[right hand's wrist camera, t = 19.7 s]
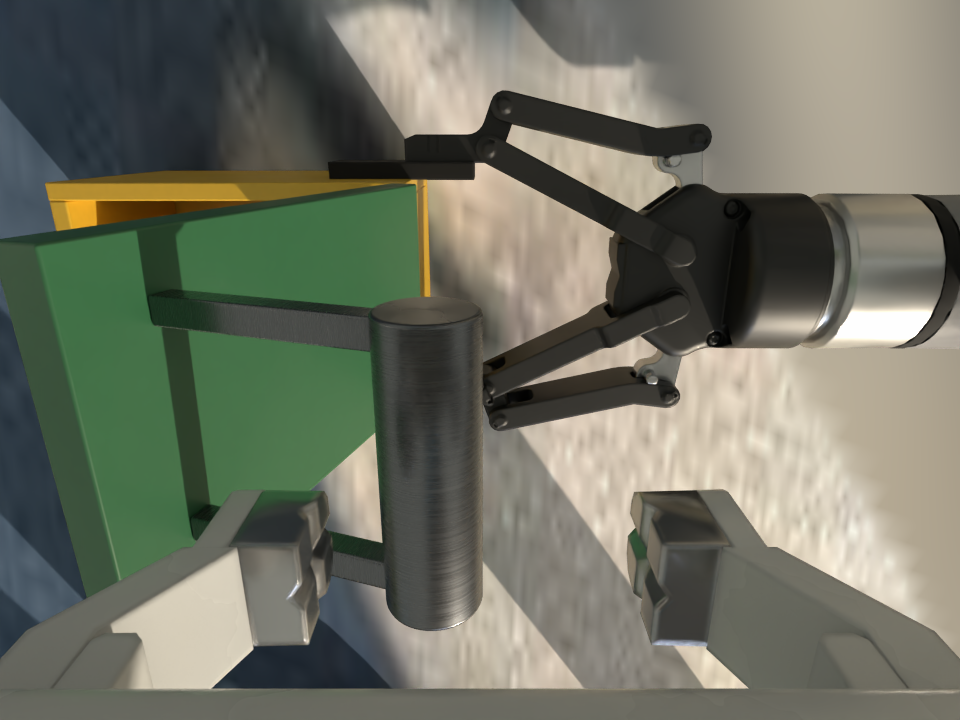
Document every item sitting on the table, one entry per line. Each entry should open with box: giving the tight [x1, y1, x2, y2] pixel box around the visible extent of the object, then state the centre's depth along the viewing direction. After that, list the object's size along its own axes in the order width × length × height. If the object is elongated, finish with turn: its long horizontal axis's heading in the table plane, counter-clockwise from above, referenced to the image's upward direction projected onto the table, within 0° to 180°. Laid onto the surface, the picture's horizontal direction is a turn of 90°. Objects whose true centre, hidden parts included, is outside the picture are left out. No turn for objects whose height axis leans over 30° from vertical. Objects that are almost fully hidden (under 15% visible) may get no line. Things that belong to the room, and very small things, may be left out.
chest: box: [45, 171, 430, 297], centre depth 32 cm, size 15×9×10 cm, turn 90°
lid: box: [0, 183, 483, 631], centre depth 18 cm, size 16×9×8 cm
